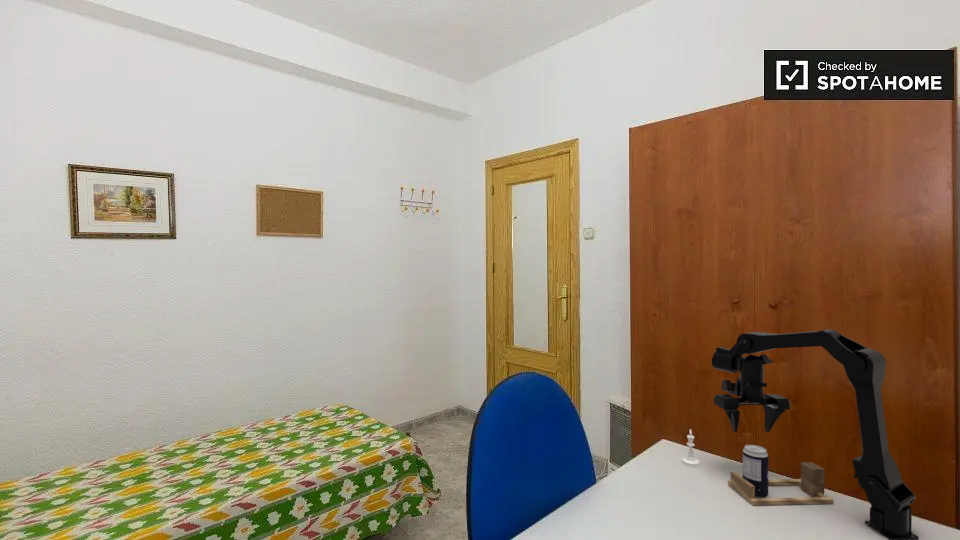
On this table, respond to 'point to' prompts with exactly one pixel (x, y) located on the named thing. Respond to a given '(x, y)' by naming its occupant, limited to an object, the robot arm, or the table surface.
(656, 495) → the table surface
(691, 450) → the chess piece
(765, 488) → the beverage can
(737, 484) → the wooden frame
